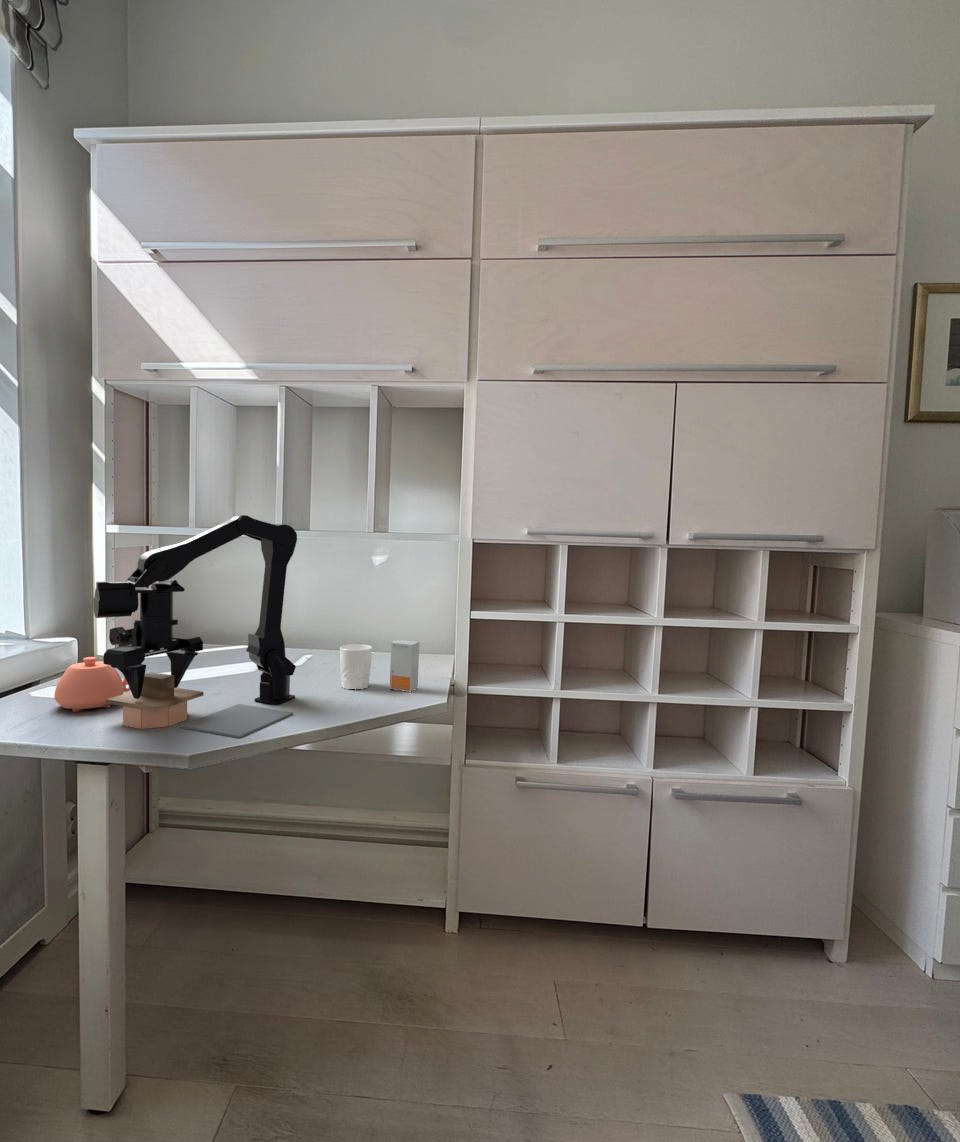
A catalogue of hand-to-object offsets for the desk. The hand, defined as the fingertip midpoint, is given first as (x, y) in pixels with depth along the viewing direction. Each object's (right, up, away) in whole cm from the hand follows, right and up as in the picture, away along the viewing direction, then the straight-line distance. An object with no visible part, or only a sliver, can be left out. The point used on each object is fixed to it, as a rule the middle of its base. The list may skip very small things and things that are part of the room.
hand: (156, 692), depth 117 cm
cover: (0, -1, 0) cm, 1 cm away
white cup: (+33, -5, +30) cm, 45 cm away
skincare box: (+45, -6, +29) cm, 54 cm away
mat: (+16, -6, +1) cm, 17 cm away
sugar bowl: (-18, -5, +8) cm, 20 cm away
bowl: (0, -5, 0) cm, 5 cm away
